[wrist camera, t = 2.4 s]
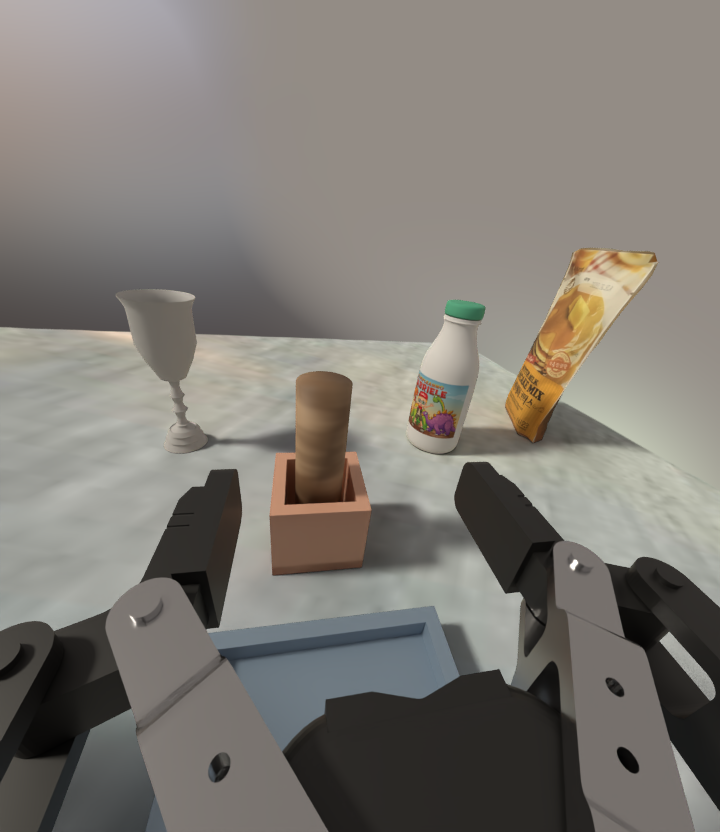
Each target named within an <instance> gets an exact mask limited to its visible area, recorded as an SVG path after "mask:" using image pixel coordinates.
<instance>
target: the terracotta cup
mask: <svg viewBox="0 0 720 832" xmlns="http://www.w3.org/2000/svg"><path fill="white" fill-rule="evenodd" d="M295 460H296V453H276V459H275V469H274V478H273V488H272V498H271V507H270V534H271V554H272V575H282V574H293V573H304V572H315V571H327V570H338V569H349V568H360V567H362V562H363V556H364V551H365V545H366V539H367V533H368V528H369V522H370V516H371V511H372V510H371V507H370V503H369V499H368V495H367V491H366V488H365V484H364V480H363V476H362V472H361V469H360V465H359V461H358V457H357V454H356V452H346V453H345V462H344V472H343V482H342V492H341V501H340V502H336V503H315V504H295Z"/></svg>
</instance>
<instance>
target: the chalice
mask: <svg viewBox="0 0 720 832" xmlns="http://www.w3.org/2000/svg"><path fill="white" fill-rule="evenodd" d="M115 296H116V297H117V298H118V299H119V301H120V302H121V303H122V304H123V305H124V307H125V311H126V315H127V318H128V322H129V327H130V330H131V334H132V338H133V342H134V345H135V347H136V348H137V350H138V351H139V353H140V354H141V356H142V357H143V359H144V360H145V362H146V363H147V364H148V365H149V366H150V367H151V369H152V370H153V371H154V372H155V373H156V375H157V376H158V377H159V378H160V379H161V380H164V381H169V383H170V385H171V394H170V395H169V396H170V397H171V398H172V399H173V401H174V407H173V408H172V411H173V412H175V413H176V415H177V417H178V418H177V422H176V423H175V424H173V425H172V426H171V427H170V428H169V430H168V431H167V436H166V441H165V442H164V448H165V449H166V450H167V451H169V452H172V453H188V452H192V451H195V450H198V449H200V448H201V447H203V446H204V445H205V444H206V443H207V441H208V438H207V436H206V435H205V434H204V433H203V431H202V430H201V429H200V426H199V425H197V424H196V423H194V422H191V421H188V420H187V419H186V417H185V412H186V411H187V409H188V407H186V406H185V405H184V404H183V402H182V401H183V397H184V393H183V392H182V391H181V389H180V386H179V381H180V380H182V379H184V378H186V377H187V374H188V371H189V369H190V366H191V363H192V361H193V358H194V353H195V349H196V344H197V341H196V335H195V328H194V322H193V316H192V309H191V308H192V305H193V302H194V300H195V296H194V295H191V294H189V293H185V292H179V291H171V290H157V289H141V290H140V289H139V290H127V291H121V292H118V293H116V295H115Z"/></svg>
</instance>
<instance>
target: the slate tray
mask: <svg viewBox="0 0 720 832" xmlns="http://www.w3.org/2000/svg"><path fill="white" fill-rule="evenodd" d="M208 634H209V636H210V638H211V640H212V641H213V643H214V645H215V647H216V648H217V650H218V652H219V653H220V654H221V656H225V657H226V658H227V660H228V661H229V662H230V664H231V665H232V667H233V669H234V670H235V672H236V674H237V675H238V677H239V679H240V681H241V682H242V684H243V686H244V688H245V689H246V691H247V693H248V694H249V696H250V698H251V700H252V701H253V703H254V705H255V706H256V708H257V710H258V712H259V713H260V715H261V717H262V718H263V720H264V722H265V724H266V725H267V727H268V729H269V730H270V732H271V734H272V736H273V737H274V739H275V741H276V742H277V744H278V746H279V748H280V749H281V751H283V750H284V748H285V747H286V746H287V745H288V743H289V742H290V741H291V740H292V739H293V738H294V737H295V736H296V735H297V734H298V733H299V732H300V731H301V730H302V729H303V728H304V727H305V726H307V725H308V724H309V723H310V722H312V721H313V720H315V719H316V718H318V717H320V716H322V715H323V714H324V712H325V701H326V699H331V698H337V697H343V696H348V695H354V694H360V693H366V692H371V691H373V692H379V693H385V694H391V695H397V696H404V697H410V698H416V699H421V698H424V697H426V696H428V695H429V694H431V693H433V692H434V691H436V690H438V689H439V688H441V687H443V686H444V685H446V684H448V683H449V682H451V681H453V680H454V679H456V678H458V677H459V673H458V670H457V667H456V665H455V662H454V659H453V656H452V654H451V651H450V648H449V645H448V643H447V640H446V637H445V634H444V632H443V629H442V626H441V624H440V621H439V618H438V615H437V613H436V610H435V607H434V606H429V607H421V608H412V609H404V610H396V611H387V612H379V613H371V614H363V615H354V616H346V617H338V618H330V619H321V620H313V621H305V622H296V623H288V624H280V625H272V626H263V627H255V628H247V629H239V630H230V631H222V632H214V633H208ZM145 832H167V830H166V827H165V823H164V820H163V817H162V814H161V811H160V808H159V805H158V802H157V799H156V796H155V795H154V799H153V803H152V807H151V811H150V815H149V819H148V822H147V826H146V830H145Z"/></svg>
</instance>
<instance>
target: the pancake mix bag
mask: <svg viewBox="0 0 720 832" xmlns="http://www.w3.org/2000/svg"><path fill="white" fill-rule="evenodd" d="M657 264H658V262H657V259H656V256H655V253H654V252H649V251H622V250H616V249H608V248H581V249H579V250H577V251H575V252H574V253H572V257H571V261H570V264H569V267H568V269H567V271H566V274H565V276H564V278H563V281H562V283H561V285H560V287H559V290H558V292H557V294H556V296H555V299H554V301H553V303H552V305H551V307H550V309H549V312H548V314H547V317H546V319H545V321H544V323H543V325H542V327H541V329H540V331H539V333H538V335H537V338H536V340H535V341H534V344H533V346H532V348H531V350H530V352H529V354H528V356H527V358H526V360H525V362H524V364H523V366H522V368H521V370H520V372H519V374H518V376H517V378H516V380H515V382H514V385H513V387H512V389H511V391H510V393H509V395H508V397H507V400H506V405H505V408H506V410H507V412H508V415H509V417H510V419H511V421H512V423H513V426H514V428H515V430H516V432H517V433H518V434H519V435H521V436H524V437H526V438H528V439H529V440H530V441H531V442H533V443H535V442H537V441H540V440H542V438H543V435H544V433H545V431H546V429H547V423H548V422H549V420H550V418H551V416H552V413H553V410H554V408H555V407H556V405H557V403H558V401H559V399H560V397H561V395H562V393H563V392H564V390H565V388H566V387H567V385H568V384H569V383H570V381H571V380H572V378H573V377H574V376H575V374H576V373H577V371H578V370H579V369H580V367H581V366H582V364H583V363H584V362H585V360H586V359H587V357H588V356H589V355H590V353H591V352H592V351H593V349H594V348H595V347H596V346H597V345H598V344H599V342H600V341H601V339H602V338H603V337H604V335H605V334H606V332H607V331H608V329H609V328H610V327H611V325H612V324H613V323H614V321H615V320H616V319H617V317H618V316H619V315H620V313H621V312H622V311H623V310H624V308H625V307H626V306H627V305H628V303H629V302H630V301H631V300H632V299H633V298H634V297H635V295H636V294H637V293H638V292H639V291H640V290H641V289H642V288H643V286H644V285H645V284H646V282H647V281H648V280H649V278H650V277H651V276H652V274H653V272H654V270H655V268H656V266H657Z"/></svg>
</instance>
